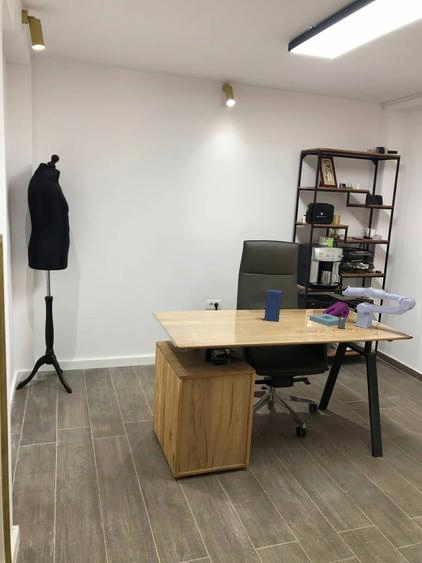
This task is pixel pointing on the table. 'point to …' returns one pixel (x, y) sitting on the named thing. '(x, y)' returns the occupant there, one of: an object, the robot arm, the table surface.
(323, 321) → the plate
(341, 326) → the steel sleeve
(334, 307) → the purple faceted block
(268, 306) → the electronic device
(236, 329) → the table surface
